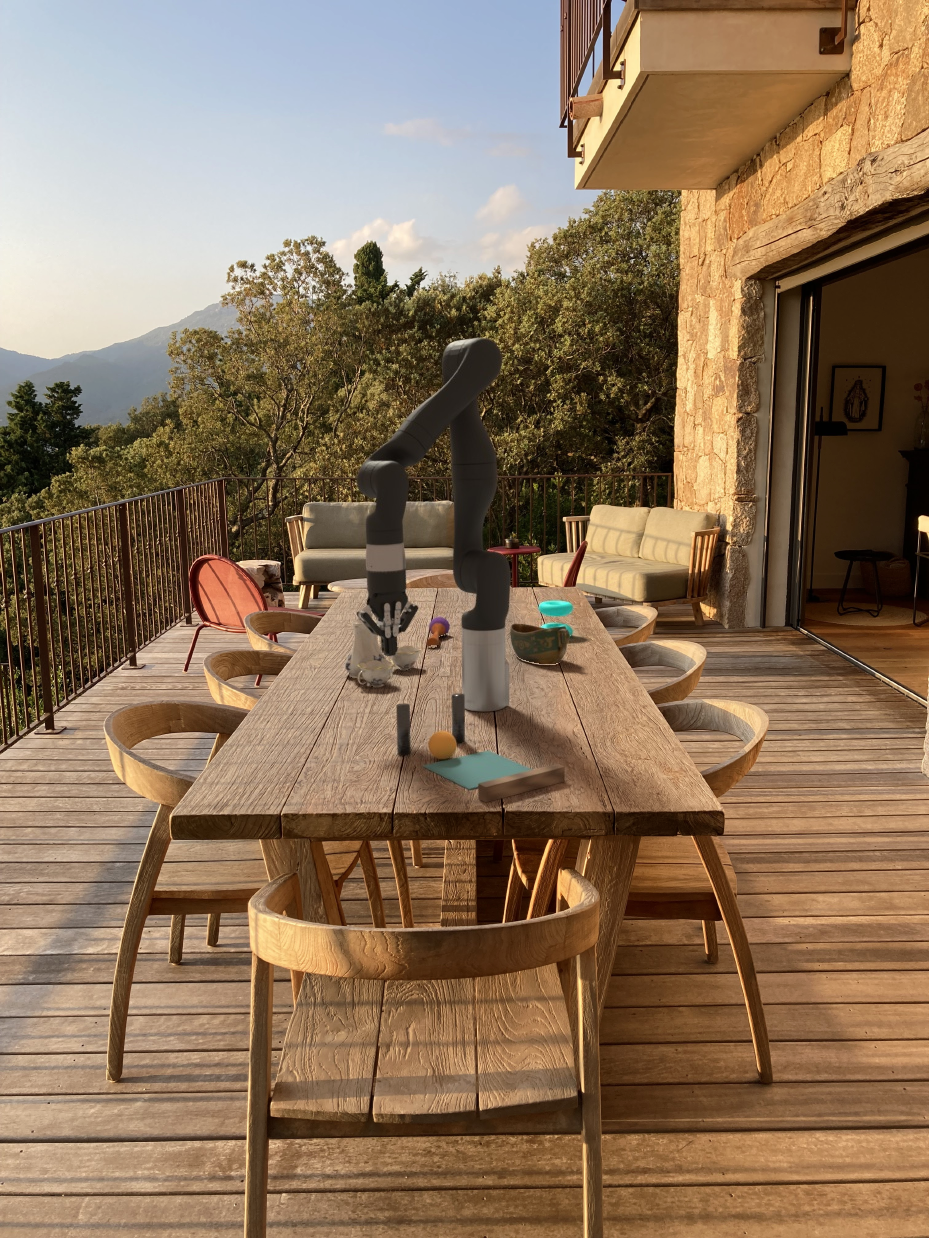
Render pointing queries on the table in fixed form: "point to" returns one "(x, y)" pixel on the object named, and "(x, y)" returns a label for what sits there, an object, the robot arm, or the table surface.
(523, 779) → the stopper
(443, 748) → the ball
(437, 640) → the kendama
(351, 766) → the table surface
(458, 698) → the post
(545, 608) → the donuts
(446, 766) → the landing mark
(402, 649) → the chinaware
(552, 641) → the cup
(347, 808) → the table surface
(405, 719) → the post
